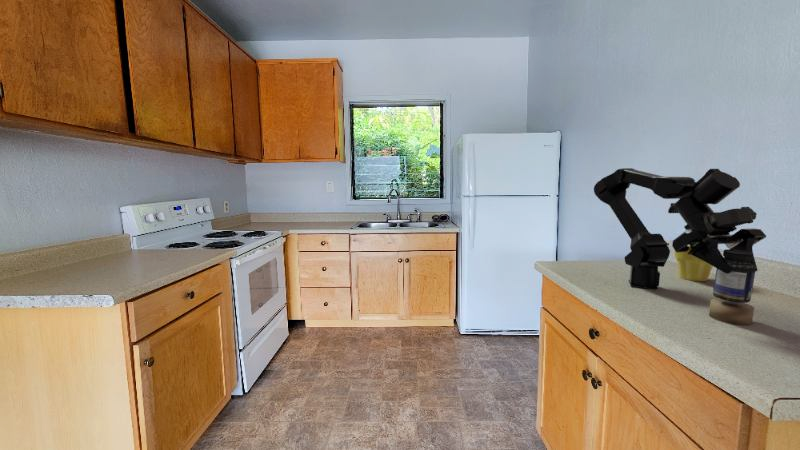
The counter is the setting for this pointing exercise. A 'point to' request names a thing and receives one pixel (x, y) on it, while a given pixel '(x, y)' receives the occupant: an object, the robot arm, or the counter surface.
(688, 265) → the plant pot
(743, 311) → the stand
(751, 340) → the counter surface
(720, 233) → the robot arm
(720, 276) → the pill bottle
